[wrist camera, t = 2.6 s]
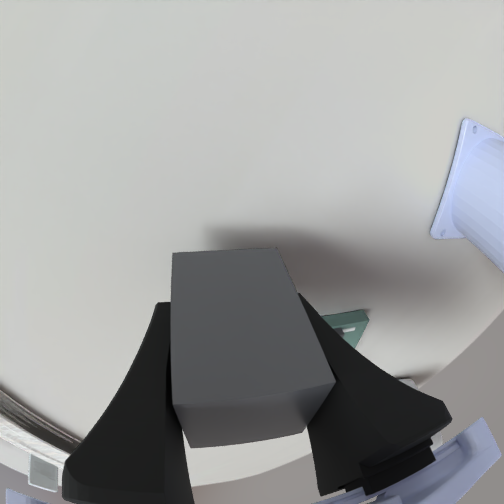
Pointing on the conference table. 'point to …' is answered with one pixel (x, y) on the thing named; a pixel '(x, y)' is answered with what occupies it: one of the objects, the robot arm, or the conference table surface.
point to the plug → (242, 349)
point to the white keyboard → (25, 440)
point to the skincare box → (42, 474)
